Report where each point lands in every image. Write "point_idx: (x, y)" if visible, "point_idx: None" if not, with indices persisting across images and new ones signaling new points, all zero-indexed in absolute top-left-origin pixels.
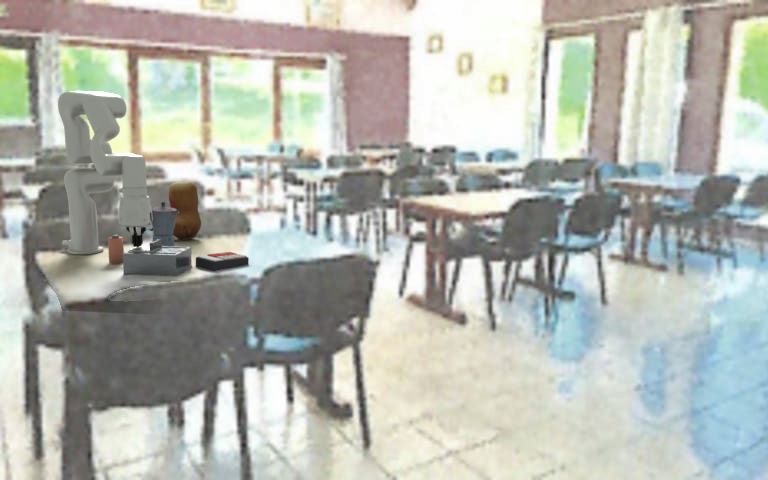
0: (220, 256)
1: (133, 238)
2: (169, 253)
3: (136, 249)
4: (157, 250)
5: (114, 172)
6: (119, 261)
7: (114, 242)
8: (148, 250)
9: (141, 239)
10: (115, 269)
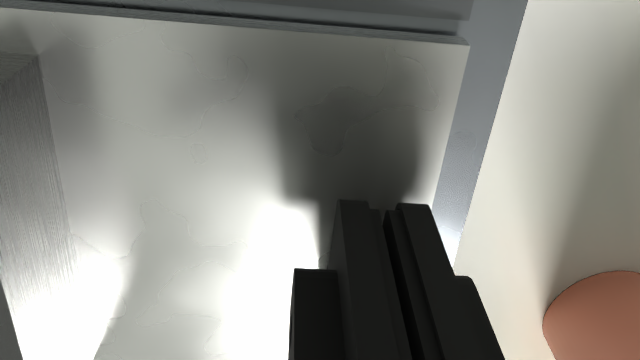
0: None
1: (457, 318)
2: None
3: (332, 88)
4: None
5: None
6: (583, 299)
7: None
8: (40, 9)
9: (291, 356)
10: (585, 84)
